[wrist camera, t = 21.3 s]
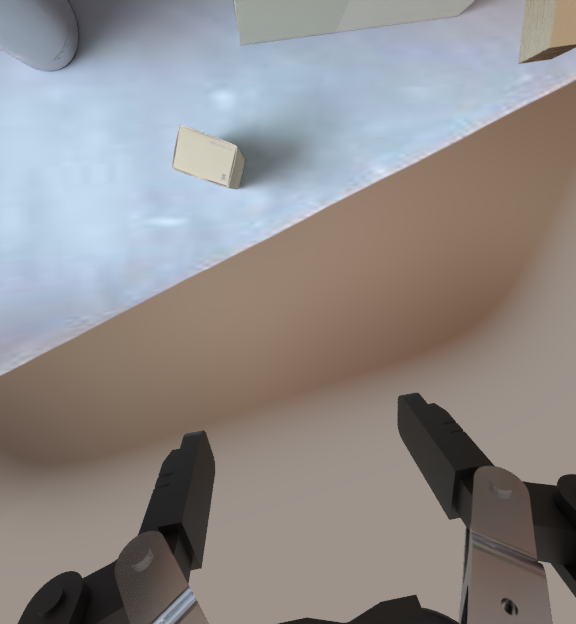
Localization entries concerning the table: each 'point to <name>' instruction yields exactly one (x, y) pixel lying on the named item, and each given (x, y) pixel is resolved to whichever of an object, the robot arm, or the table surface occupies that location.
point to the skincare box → (208, 158)
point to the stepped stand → (332, 16)
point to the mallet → (547, 29)
